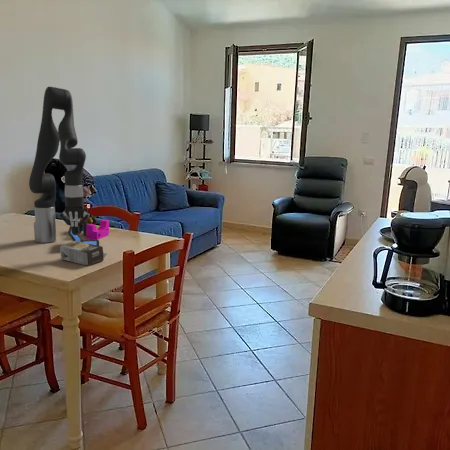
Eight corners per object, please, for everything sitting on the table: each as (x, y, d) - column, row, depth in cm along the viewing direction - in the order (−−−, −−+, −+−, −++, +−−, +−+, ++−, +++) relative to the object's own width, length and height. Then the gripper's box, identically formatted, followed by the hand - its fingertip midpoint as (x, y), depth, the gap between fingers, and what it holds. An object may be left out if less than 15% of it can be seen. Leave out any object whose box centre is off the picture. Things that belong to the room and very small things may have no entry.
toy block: (97, 240, 224) (96, 226, 222) (86, 239, 226) (86, 224, 224) (113, 234, 238) (112, 220, 236) (103, 233, 240) (102, 219, 238)
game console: (99, 250, 207) (98, 231, 205) (68, 251, 203) (67, 232, 201) (99, 242, 221) (98, 224, 219) (70, 243, 218) (69, 225, 216)
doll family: (70, 230, 243) (69, 206, 240) (86, 228, 249) (85, 205, 246) (85, 239, 225) (84, 213, 222) (102, 237, 231) (101, 212, 228)
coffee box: (75, 240, 194) (103, 246, 187) (76, 253, 196) (104, 260, 189) (59, 245, 186) (88, 252, 179) (60, 259, 188) (89, 266, 181)
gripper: (55, 196, 184) (57, 236, 188) (87, 197, 185) (88, 237, 188) (61, 193, 192) (63, 232, 195) (92, 194, 192) (93, 233, 196)
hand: (75, 234), depth 192 cm, fingers closed
